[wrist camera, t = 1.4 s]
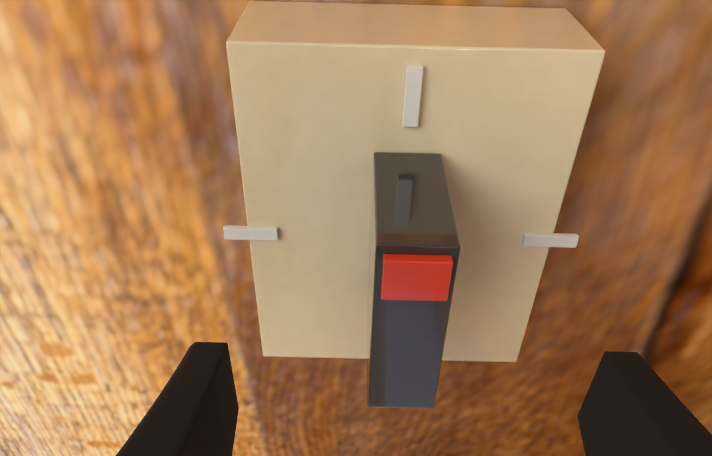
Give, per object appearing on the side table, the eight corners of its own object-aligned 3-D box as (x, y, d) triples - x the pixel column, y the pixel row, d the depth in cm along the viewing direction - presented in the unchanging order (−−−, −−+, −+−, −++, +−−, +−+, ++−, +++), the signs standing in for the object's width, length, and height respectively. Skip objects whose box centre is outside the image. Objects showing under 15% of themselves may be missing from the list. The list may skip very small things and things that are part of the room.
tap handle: (422, 304, 16) (434, 417, 14) (366, 303, 16) (367, 416, 14) (442, 152, 13) (463, 254, 10) (373, 150, 13) (375, 253, 10)
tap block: (516, 297, 20) (537, 367, 18) (258, 290, 20) (242, 360, 18) (591, 8, 14) (638, 54, 12) (224, -1, 14) (194, 43, 12)
